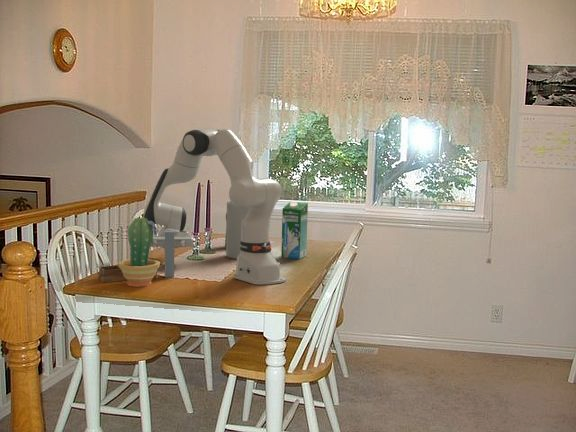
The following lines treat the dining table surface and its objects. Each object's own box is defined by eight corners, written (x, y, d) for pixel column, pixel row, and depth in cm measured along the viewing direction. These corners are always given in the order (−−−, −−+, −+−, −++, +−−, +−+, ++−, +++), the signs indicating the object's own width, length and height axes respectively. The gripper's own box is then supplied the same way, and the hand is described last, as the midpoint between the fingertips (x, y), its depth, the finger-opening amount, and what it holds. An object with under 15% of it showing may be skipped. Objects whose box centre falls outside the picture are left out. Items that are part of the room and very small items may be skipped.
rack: (156, 277, 260) (156, 265, 259) (103, 282, 249) (102, 270, 249) (150, 273, 266) (150, 262, 265) (98, 278, 255) (97, 266, 255)
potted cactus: (148, 290, 239) (148, 221, 236) (110, 286, 243) (109, 219, 240) (167, 281, 254) (167, 216, 251) (131, 277, 258) (130, 213, 255)
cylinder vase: (246, 260, 297) (247, 204, 293) (221, 257, 301) (221, 202, 298) (257, 255, 308) (258, 202, 305) (233, 253, 313) (234, 200, 309)
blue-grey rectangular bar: (174, 275, 264) (174, 230, 261) (174, 277, 260) (174, 232, 258) (164, 275, 263) (164, 230, 261) (164, 277, 260) (164, 232, 257)
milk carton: (281, 257, 305) (282, 203, 302) (288, 254, 314) (289, 201, 310) (299, 259, 302) (300, 204, 298) (306, 255, 310) (308, 202, 307)
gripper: (144, 231, 284) (143, 237, 270) (192, 231, 287) (193, 237, 274) (144, 246, 284) (143, 252, 271) (192, 246, 288) (193, 252, 275)
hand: (169, 244), depth 272 cm, fingers open, 8 cm apart
